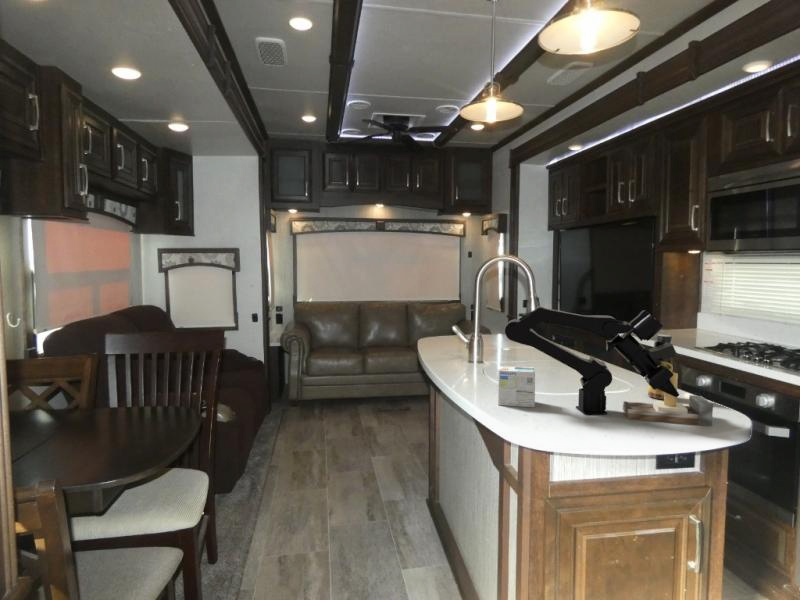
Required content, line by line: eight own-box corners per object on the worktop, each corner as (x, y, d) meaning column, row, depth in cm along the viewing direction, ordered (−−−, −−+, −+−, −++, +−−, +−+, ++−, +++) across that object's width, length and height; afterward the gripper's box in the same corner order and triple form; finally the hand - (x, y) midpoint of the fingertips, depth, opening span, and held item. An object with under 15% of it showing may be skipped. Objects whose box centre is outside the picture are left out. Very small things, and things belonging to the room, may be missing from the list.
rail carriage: (658, 413, 132) (660, 375, 131) (653, 407, 137) (654, 370, 137) (687, 416, 130) (689, 376, 129) (680, 409, 136) (682, 371, 135)
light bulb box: (533, 401, 149) (534, 366, 148) (535, 408, 142) (536, 371, 141) (498, 399, 151) (498, 365, 150) (497, 405, 144) (498, 369, 144)
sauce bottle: (647, 398, 152) (650, 335, 150) (648, 393, 157) (650, 332, 156) (671, 401, 149) (674, 337, 147) (671, 396, 154) (674, 334, 153)
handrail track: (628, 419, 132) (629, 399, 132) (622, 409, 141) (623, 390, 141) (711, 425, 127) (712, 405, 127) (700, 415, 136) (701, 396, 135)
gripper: (666, 337, 124) (712, 383, 122) (649, 328, 142) (690, 367, 140) (631, 366, 127) (676, 411, 125) (619, 353, 145) (658, 392, 143)
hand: (676, 394), depth 133 cm, fingers closed on rail carriage, 3 cm apart
